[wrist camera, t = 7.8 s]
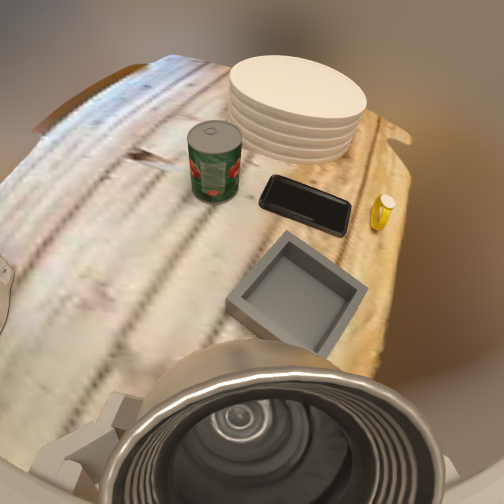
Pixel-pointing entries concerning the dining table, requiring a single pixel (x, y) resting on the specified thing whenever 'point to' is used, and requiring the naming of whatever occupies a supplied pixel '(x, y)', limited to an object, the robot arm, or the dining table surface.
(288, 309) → the tray
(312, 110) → the plate stack
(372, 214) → the watch
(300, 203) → the phone
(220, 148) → the canned tomato
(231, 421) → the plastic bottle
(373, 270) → the dining table surface
